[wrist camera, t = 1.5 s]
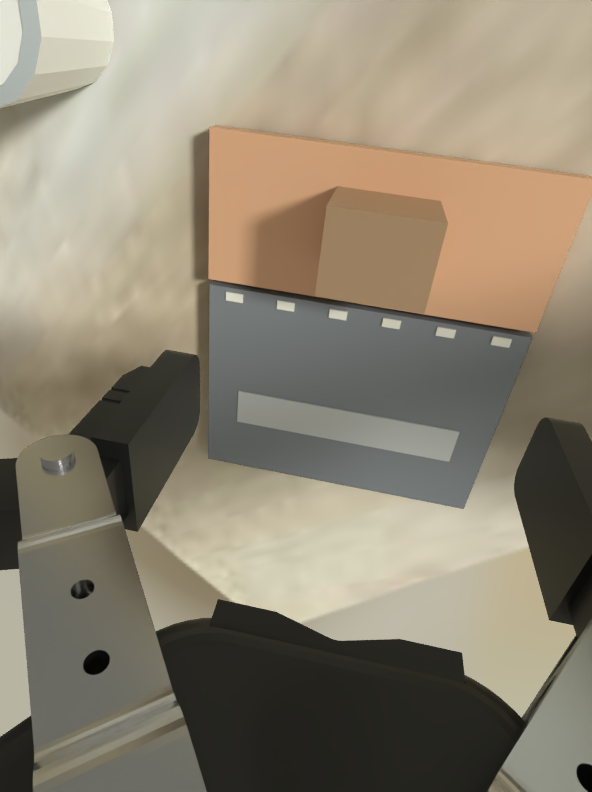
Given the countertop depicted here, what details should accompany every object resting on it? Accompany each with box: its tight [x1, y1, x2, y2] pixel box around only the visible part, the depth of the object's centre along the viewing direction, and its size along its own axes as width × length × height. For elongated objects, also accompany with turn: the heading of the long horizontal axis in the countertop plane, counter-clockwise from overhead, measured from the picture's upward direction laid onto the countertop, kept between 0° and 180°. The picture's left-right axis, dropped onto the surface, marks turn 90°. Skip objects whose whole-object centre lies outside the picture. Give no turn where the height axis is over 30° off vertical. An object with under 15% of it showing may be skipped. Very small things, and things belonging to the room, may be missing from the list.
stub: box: [208, 125, 592, 333], centre depth 24 cm, size 18×8×6 cm, turn 84°
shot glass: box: [0, 0, 114, 108], centre depth 21 cm, size 7×7×7 cm
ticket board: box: [208, 280, 532, 509], centre depth 32 cm, size 18×13×1 cm
